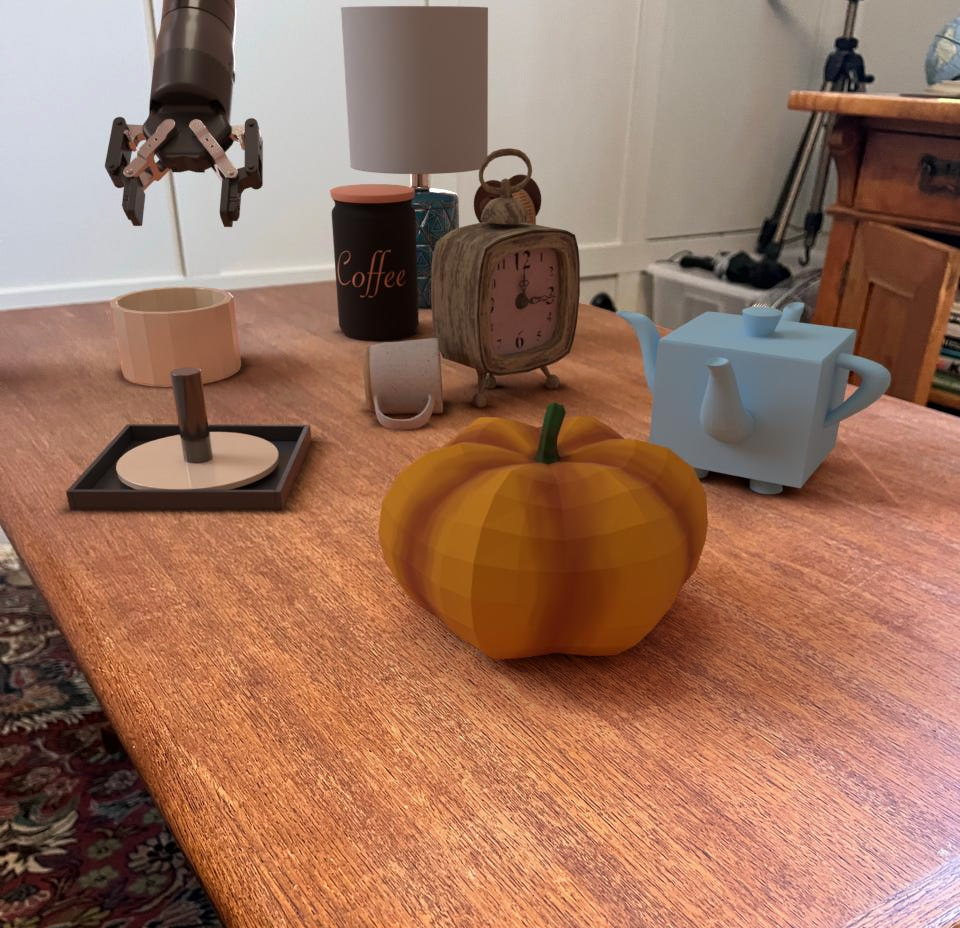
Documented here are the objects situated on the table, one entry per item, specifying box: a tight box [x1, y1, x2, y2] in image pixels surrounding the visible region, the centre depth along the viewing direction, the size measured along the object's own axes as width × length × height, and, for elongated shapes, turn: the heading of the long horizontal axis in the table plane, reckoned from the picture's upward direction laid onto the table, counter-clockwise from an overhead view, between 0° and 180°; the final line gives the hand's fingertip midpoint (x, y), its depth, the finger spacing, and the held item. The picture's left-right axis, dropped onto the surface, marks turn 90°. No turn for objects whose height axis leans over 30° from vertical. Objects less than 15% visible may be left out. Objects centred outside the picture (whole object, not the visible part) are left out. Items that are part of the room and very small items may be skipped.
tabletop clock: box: [431, 147, 581, 409], centre depth 108 cm, size 14×9×25 cm, turn 129°
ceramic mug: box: [362, 337, 444, 431], centre depth 105 cm, size 11×8×8 cm
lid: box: [116, 367, 279, 490], centre depth 90 cm, size 14×14×9 cm
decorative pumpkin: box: [377, 401, 709, 660], centre depth 67 cm, size 20×22×15 cm
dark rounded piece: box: [473, 173, 542, 225], centre depth 127 cm, size 15×15×20 cm
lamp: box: [340, 5, 489, 309], centre depth 142 cm, size 19×19×38 cm
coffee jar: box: [329, 183, 420, 342], centre depth 132 cm, size 11×11×18 cm
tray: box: [65, 423, 312, 512], centre depth 93 cm, size 18×17×2 cm
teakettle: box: [615, 301, 892, 495], centre depth 91 cm, size 19×19×15 cm
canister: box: [109, 286, 242, 388], centre depth 119 cm, size 14×14×8 cm
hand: (180, 221), depth 94 cm, fingers open, 8 cm apart
